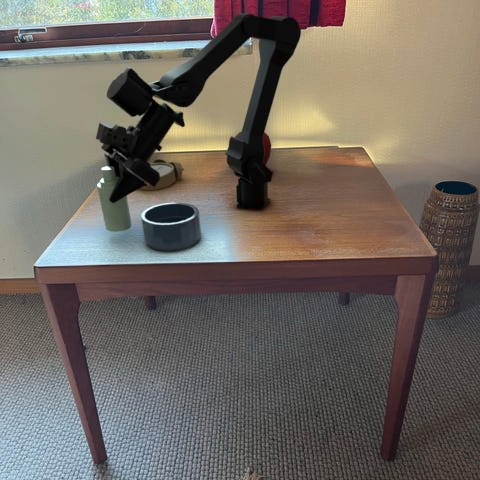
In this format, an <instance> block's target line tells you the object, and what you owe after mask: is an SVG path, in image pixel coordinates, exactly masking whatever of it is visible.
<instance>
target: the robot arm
mask: <svg viewBox="0 0 480 480" xmlns="http://www.w3.org/2000/svg"><path fill="white" fill-rule="evenodd" d="M301 36H302V29H301V27H300V24H299V22H298V21H297V19H295V18H294V17H291V16H279V15H272V16H271V15H270V16H269V17H262V16H258V15H254V14H252V13H245V12H239V13H237V14H235V16H234V17H233V18H232V19H231V21H230V22H229V23H228V24H227V25H226V26H224V28H222V29H221V31H219V32H218V34H216V35H215V36H214V37H213V38H212V39H211V40H210V41H209V42H208V43H207V44H206V45H205V46H204V47H203V48H201V49H200V50H199V51H198V53H196V54H195V55H194V56H193V57H192V58H191V59H189V60H188V61H185V62H183V63H181V64H179V65H176V66H175V67H173V68H172V69H170V70H169V71H167V72H165V73H164V74H162V76H161V77H160V79H159V80H156V81H153V82H150V83H148V82H146V81H145V80H144V79H143V78H141V77H140V75H139V74H138V73H137V71H135V70H134V69H133V68H132V67H128V66H127V67H126V68H125V69H124V71H123V72H121V73H120V74H119V75H118V76H116V78H115V79H113V80H112V81H111V83H110V84H109V86H108V88H107V91H106V98H107V99H108V100H110V101H111V102H112V103H114V105H116V106H117V107H119V108H120V109H121V110H122V111H123V112H125V113H126V114H127V115H129V117H131V118H135V117H136V116H138V117H140V118H139V120H138V121H137V123H136V124H135V126H134V125H133V124H131V125H129V126H128V127H127V128H126V127H125V126H122V125H119V124H115V125H111V124H107V123H104V122H99V123H98V127H97V131H96V136H95V140H96V141H97V140H98V141H99V143H101V144H102V146H101V147H100V149H102V150H103V151H104V152H105V153H104V154H103V155H104V158H105V161H106V164H107V165H106V167H107V166H113V167H114V169H115V175H116V177H119V179H118V181H117V183H116V185H115V187H114V189H113V191H112V194H111V196H110V198H109V201H110V202H112V203H115V202H117V201H118V200H120V199H122V198H124V197H125V196H127V197H128V196H129V195H130V194H132V193H134V192H136V191H138V190H141V189H140V188H142V187H144V186H147V184H146V183H145V181H146V182H148V183H149V184H150V185H152V186H153V187H156V185H157V184H158V182H159V181H160V174H159V172H157V171H156V170H155V169H153V168H152V167H151V166H150V165H151V164H150V163H149V161H150V160H151V158H152V157H153V155H154V154H155V152H156V151H157V152H161V150H162V149H163V146H162V145H161V143H162V141H163V140H164V139H165V137H166V136H167V134H168V132H169V131H170V130H171V128H172V126H173V125H177V126H179V127H181V128H185V126H186V124H185V120H184V112H183V111H180V110H174V109H173V108H172V107H171V106H170V105H168V104H171V105H173V106H176V107H177V108H185V109H186V108H189V107H190V106H191V105H193V103H194V102H195V101H196V100H197V99H198V98H199V96H200V95H201V93H202V92H203V90H204V87H205V85H206V83H207V81H208V79H210V77H211V76H212V75H213V74H214V73H215V72H216V71H217V70H218V69H219V68H220V67H221V66H222V65H224V63H226V61H227V60H228V59H229V58H231V57H232V56H233V55H234V54H235V53H236V52H237V51H238V50H239V49H240V48H241V47H242V46H243V45H244V44H246V43H247V41H249V40H250V39H251V38H252V39H256V40H258V44H257V45H258V52H259V65H258V69H257V73H256V75H255V76H256V77H255V79H254V83H253V87H252V91H251V95H250V99H249V103H248V106H247V110H246V114H245V118H244V121H243V125H242V129H241V131H240V134H239V135H238V136H237V137H236V138H235V136H232V135H231V136H230V137H229V139H228V147H227V150H226V151H225V152H224V154H225V155H226V163H227V165H228V167H229V169H230V170H232V171H233V173H234V176H235V177H237V178H238V179H237V185H236V186H235V189H236V190H235V191H236V192H235V193H236V202H237V204H236V208H238V209H247V210H257V211H263V210H264V209H265V208H266V207H267V205H268V204H269V203H270V202H271V198H270V197H269V186H268V185H269V184H268V183H271V182H272V179H273V176H274V171H272V170H271V169H270V168H269V167H268V166H267V165H266V166H265V165H264V164H263V161H264V154H265V150H264V142H263V135H264V132H265V133H266V127H267V124H268V120H269V117H270V113H271V111H272V107H273V103H274V101H275V100H274V99H275V96H276V92H277V89H278V85H279V82H280V78H281V76H282V71H283V69H284V67H285V66H286V64H287V63H288V62H289V61H290V59H291V58H292V57H293V56H294V54H295V51H296V49H297V47H298V44H299V42H300V39H301ZM153 97H154V98H157V99H159V100H161V101H164V102H162V103H159V102H158V101H157V100H155V99H154V98H153ZM167 103H168V104H167Z"/></svg>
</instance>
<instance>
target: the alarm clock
mask: <svg viewBox="0 0 480 480" xmlns="http://www.w3.org/2000/svg"><path fill="white" fill-rule="evenodd" d="M149 164H151V165H150V166H151V167H152V168H153V169H155V170H156V171H157V172H159V174H160V181H159V182H158V184H157V185H156V187H153V186H152V185H150V184H149V183H148V182H146V181H145V183H146V184H147V186H144V187H142V188H140V189H139V190H142V191H154V190H160V189H164V188H166V187H169V186H171V185H173V184H175V182H176V181H178V180H180V179H181V178H182V176H183V172H184V170H185V169H184V168H183V165H182V163H181V162H179V161H178V162H177V161H169V162H168V161H167V160H166V159H163V158H156V159H155V160H154V161H153V162H151V163H149Z"/></svg>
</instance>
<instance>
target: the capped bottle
mask: <svg viewBox="0 0 480 480" xmlns="http://www.w3.org/2000/svg"><path fill="white" fill-rule="evenodd" d="M100 170H101V174H102V178H101V179H100V180H99V182H98V183H96V188H97V193H98V198H99V202H100V208H101V211H102V217H103V221H104V227H105V230H106V231H107V232H113V233H118V232H124V231H127V230H129V229H130V228H132V226H133V224H132V218H131V211H130V206H129V200H128V195H127V196H125V197H124V198H122V199H120V200H118V201H117V202H115V203H112V202H110V201H109V198H110V196H111V194H112V191H113V189H114V187H115V185H116V183H117V181H118V179H119V177H116V175H115V169H114V167H113V166H107V165H106V166H103V167H101V169H100Z"/></svg>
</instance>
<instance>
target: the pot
mask: <svg viewBox="0 0 480 480" xmlns="http://www.w3.org/2000/svg"><path fill="white" fill-rule="evenodd" d="M140 219H141V228H142V233H143V240H144V242H145V244H147V245H148V246H149V247H151V248H152V249H154V250H156V251H163V252H176V251H181V250H185V249H188V248H190V247H192V246H194V245H195V244H196V243H197V242H198V241H199V240H200V239H201V237H202V236H201V235H202V230H201V220H200V219H201V217H200V210H199V208H198V207H197V206H195V205H193V204H190V203H186V202H165V203H160V204H156V205H152V206H150V207H148V208H146V209H145V210H144V211H142V212H141V214H140Z"/></svg>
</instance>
